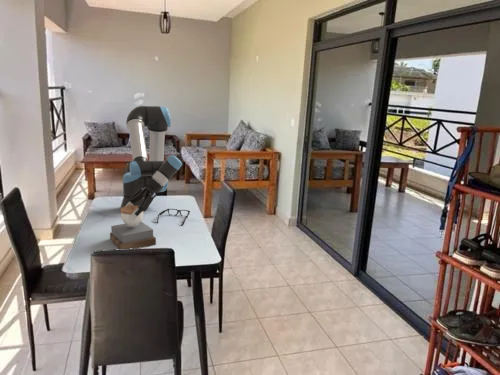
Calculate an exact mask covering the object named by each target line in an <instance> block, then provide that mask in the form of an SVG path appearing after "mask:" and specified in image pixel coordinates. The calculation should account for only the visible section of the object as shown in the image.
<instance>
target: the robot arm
mask: <svg viewBox="0 0 500 375" xmlns="http://www.w3.org/2000/svg"><path fill="white" fill-rule="evenodd" d="M171 120H172V119H171V114H170V110H169V109H168V107H167V106H160V105H157V106H156V105H155V106H154V105H151V106H150V105H149V106H148V105H139V106H137V107H134V108H133V109H132V110H131V111H130V112H129V113H128V115H127V117H126V128H127V130H128V131H129V137H130V139H129V140H130V148H131V154H132V155H131V156H132V161H130V162H129V172H126V173H125V174H123V176H122V192H123V195H122V196H123V197H122V200H121V204H120V209H121V208H123V207H125V206H131V205H133V206H138V208H137V209H136V210H135V211H134V212H133V213H132V214H131V215H130V217H129V218H128V219H130V220H131V221H132V222H133V221H134V220H135V219H136V218H137V216H138V215H139V214H140V213H141V212H142V211H143V212H146V211H147V210H148V209H149V208H150V205H151V204H152V202H153V201H154V199H155V198H157V195H158V193H162V192H165V191H166V190H167V189H168V184H169V181H170V180H171V178H172V177H173V176H174V175H175V174H176V173H177V172H178V171H179V170H180V168H181V167H182V166H183V163H182V161H181V160H180V159H179V158H178V157H177V156H175V155H170V156H169V157H167V159H166V160H164V159H165V156H164V155H165V137H166V135H165V134H166V132H168V128H170V127H171V124H172V121H171ZM145 127H147V128H146V129H147V131H148V132H149V155H148V152H147V145H146V144H147V143H146V139H145V137H146V136H145V132H144V129H145ZM148 156H149V158H148ZM156 193H157V194H156ZM120 213H121V211H120Z"/></svg>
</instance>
